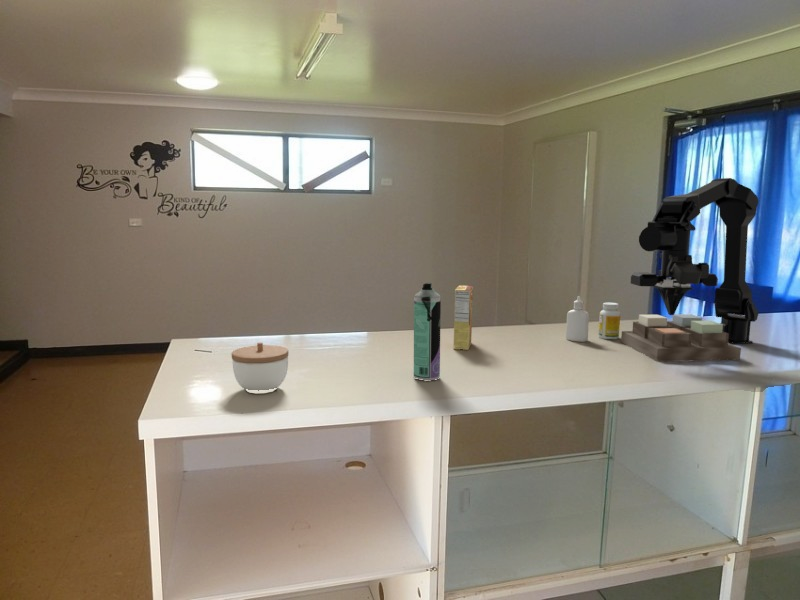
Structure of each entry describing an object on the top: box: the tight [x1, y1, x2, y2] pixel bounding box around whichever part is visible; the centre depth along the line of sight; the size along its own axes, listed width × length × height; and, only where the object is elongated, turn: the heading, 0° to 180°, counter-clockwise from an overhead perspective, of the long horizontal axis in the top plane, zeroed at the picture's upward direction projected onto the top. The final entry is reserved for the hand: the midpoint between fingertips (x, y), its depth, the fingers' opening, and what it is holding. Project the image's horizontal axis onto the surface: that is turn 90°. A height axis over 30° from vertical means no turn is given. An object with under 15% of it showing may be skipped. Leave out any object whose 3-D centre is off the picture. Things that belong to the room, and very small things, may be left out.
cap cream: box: [638, 314, 668, 326], centre depth 151 cm, size 5×5×3 cm
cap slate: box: [671, 313, 703, 326], centre depth 151 cm, size 5×5×3 cm
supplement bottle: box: [598, 301, 621, 340], centre depth 162 cm, size 5×5×10 cm
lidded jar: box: [231, 341, 289, 391], centre depth 114 cm, size 11×11×9 cm
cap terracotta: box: [655, 328, 685, 334], centre depth 142 cm, size 5×5×3 cm
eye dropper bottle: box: [565, 295, 590, 343], centre depth 159 cm, size 4×6×12 cm
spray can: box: [413, 282, 442, 380], centre depth 122 cm, size 6×6×20 cm
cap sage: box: [691, 320, 723, 333], centre depth 143 cm, size 5×5×3 cm
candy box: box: [453, 285, 474, 351], centre depth 151 cm, size 9×4×15 cm, turn 169°
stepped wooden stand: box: [620, 320, 742, 362], centre depth 147 cm, size 20×20×6 cm
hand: (671, 314), depth 142 cm, fingers closed
